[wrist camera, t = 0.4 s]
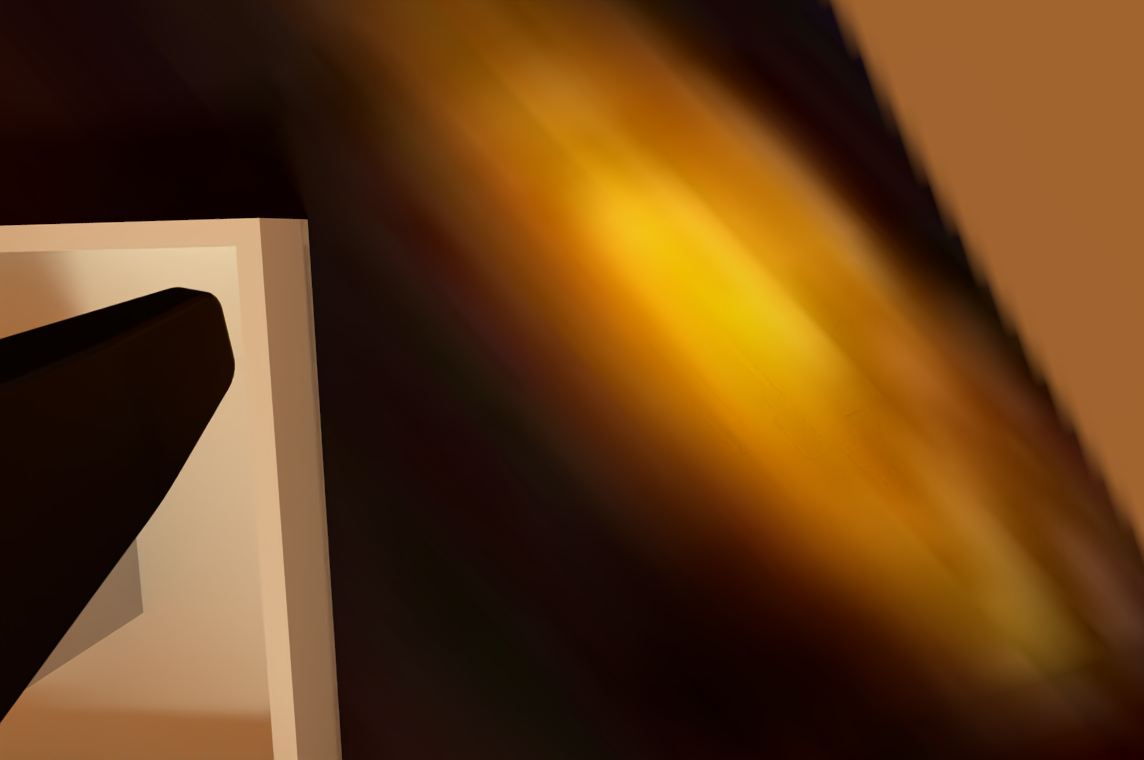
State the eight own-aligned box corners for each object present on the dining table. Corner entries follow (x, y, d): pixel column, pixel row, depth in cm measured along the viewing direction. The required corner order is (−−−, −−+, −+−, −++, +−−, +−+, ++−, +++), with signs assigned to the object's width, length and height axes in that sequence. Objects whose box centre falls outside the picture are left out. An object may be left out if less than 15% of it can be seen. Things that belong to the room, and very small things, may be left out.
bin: (344, 796, 26) (304, 854, 24) (-151, 761, 28) (-234, 811, 26) (307, 219, 24) (259, 218, 21) (-226, 235, 26) (-324, 235, 24)
